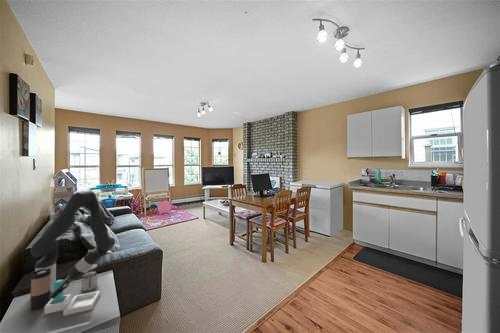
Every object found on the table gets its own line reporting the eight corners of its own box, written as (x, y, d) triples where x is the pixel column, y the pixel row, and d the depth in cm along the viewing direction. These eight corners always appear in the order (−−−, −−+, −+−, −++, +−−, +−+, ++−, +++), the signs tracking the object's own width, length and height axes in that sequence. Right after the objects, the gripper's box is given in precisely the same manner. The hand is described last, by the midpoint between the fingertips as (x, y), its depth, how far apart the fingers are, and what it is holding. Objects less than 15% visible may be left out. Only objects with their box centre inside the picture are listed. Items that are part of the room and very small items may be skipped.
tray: (63, 318, 100) (63, 311, 101) (75, 301, 113) (75, 295, 113) (91, 311, 105) (91, 304, 105) (100, 296, 118) (100, 290, 118)
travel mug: (32, 314, 104) (32, 276, 104) (28, 309, 108) (29, 272, 108) (52, 305, 110) (52, 270, 111) (48, 301, 114) (48, 267, 115)
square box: (44, 316, 102) (44, 306, 102) (52, 306, 109) (52, 297, 110) (63, 311, 105) (64, 302, 105) (70, 302, 113) (70, 293, 113)
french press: (98, 282, 133) (98, 246, 134) (99, 289, 125) (100, 250, 125) (79, 288, 126) (79, 250, 127) (79, 296, 118) (79, 255, 119)
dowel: (51, 310, 105) (51, 284, 105) (55, 305, 108) (55, 280, 109) (61, 308, 106) (61, 282, 107) (64, 303, 110) (64, 278, 110)
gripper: (79, 259, 118) (52, 285, 112) (71, 269, 105) (40, 299, 99) (90, 266, 120) (64, 291, 114) (84, 276, 108) (54, 306, 102)
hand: (53, 295), depth 107 cm, fingers closed on dowel, 4 cm apart
